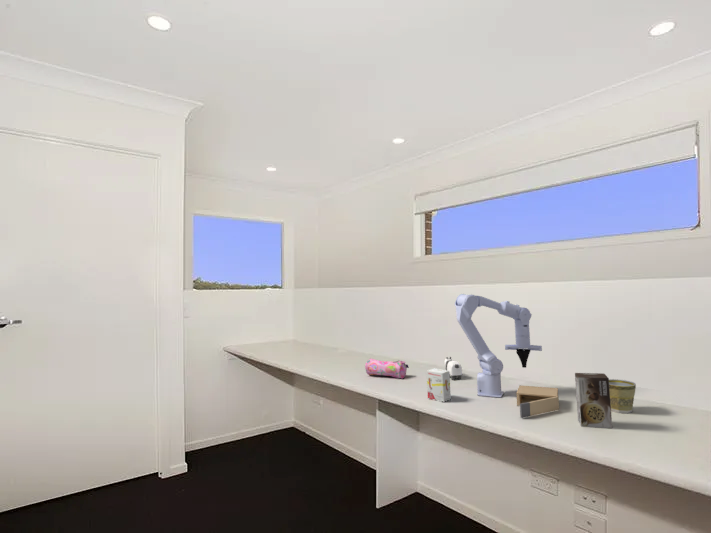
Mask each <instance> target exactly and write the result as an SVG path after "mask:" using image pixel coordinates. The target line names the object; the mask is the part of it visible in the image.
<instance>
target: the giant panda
mask: <svg viewBox="0 0 711 533" xmlns="http://www.w3.org/2000/svg"><path fill="white" fill-rule="evenodd" d="M443 362H444V363H443V364H444V367H445V370H447V371H449V372H450V381H456V379H457V380H458V381H461V380H462V376H463V369H462V368H463V367H462V365H461V364H460V361H457V360H453V358H452V357H451V356H449V357H448V356H447V357H445V359H444V361H443Z"/></svg>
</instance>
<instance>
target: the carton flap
mask: <svg viewBox="0 0 711 533" xmlns="http://www.w3.org/2000/svg"><path fill="white" fill-rule="evenodd" d="M559 399H560V398H559V396H558V397H552V398H547V399H542V400H537V401H532V402H527V403H522V404H520V406H519V416H520V417H519V418H520V419H523V418H528V417H531V416H539V415H541V414H546V413H551V412H552V413H553V412H555V411H556V412H557V411H560V401H559Z"/></svg>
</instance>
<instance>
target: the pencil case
mask: <svg viewBox="0 0 711 533" xmlns="http://www.w3.org/2000/svg"><path fill="white" fill-rule="evenodd" d="M364 368H365V369H364V370H365V373H366V374H367V375H368V376H384V377H391V378H396V379H403V378H404V379H405V377H406V375H407V369H409V364H406V361H405V360H404V361H402V360H399V359H398V360H393V361H390V360H389V361H388V360H386V361H385V360H384V361H383V360H378V359H374V358H369V359H367V361H366V362H365V365H364Z"/></svg>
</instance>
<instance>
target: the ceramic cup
mask: <svg viewBox="0 0 711 533" xmlns="http://www.w3.org/2000/svg"><path fill="white" fill-rule="evenodd" d="M636 387H637V385H636V382H634V381H631V380H626V379H616V378H615V379H614V378H612V379H611V378H610V379H609V390H610V404H611V412H614V413H617V414H631V413H632V412H633V408H634V406H633V405H634V400H635V395H636V389H637V388H636Z"/></svg>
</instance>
